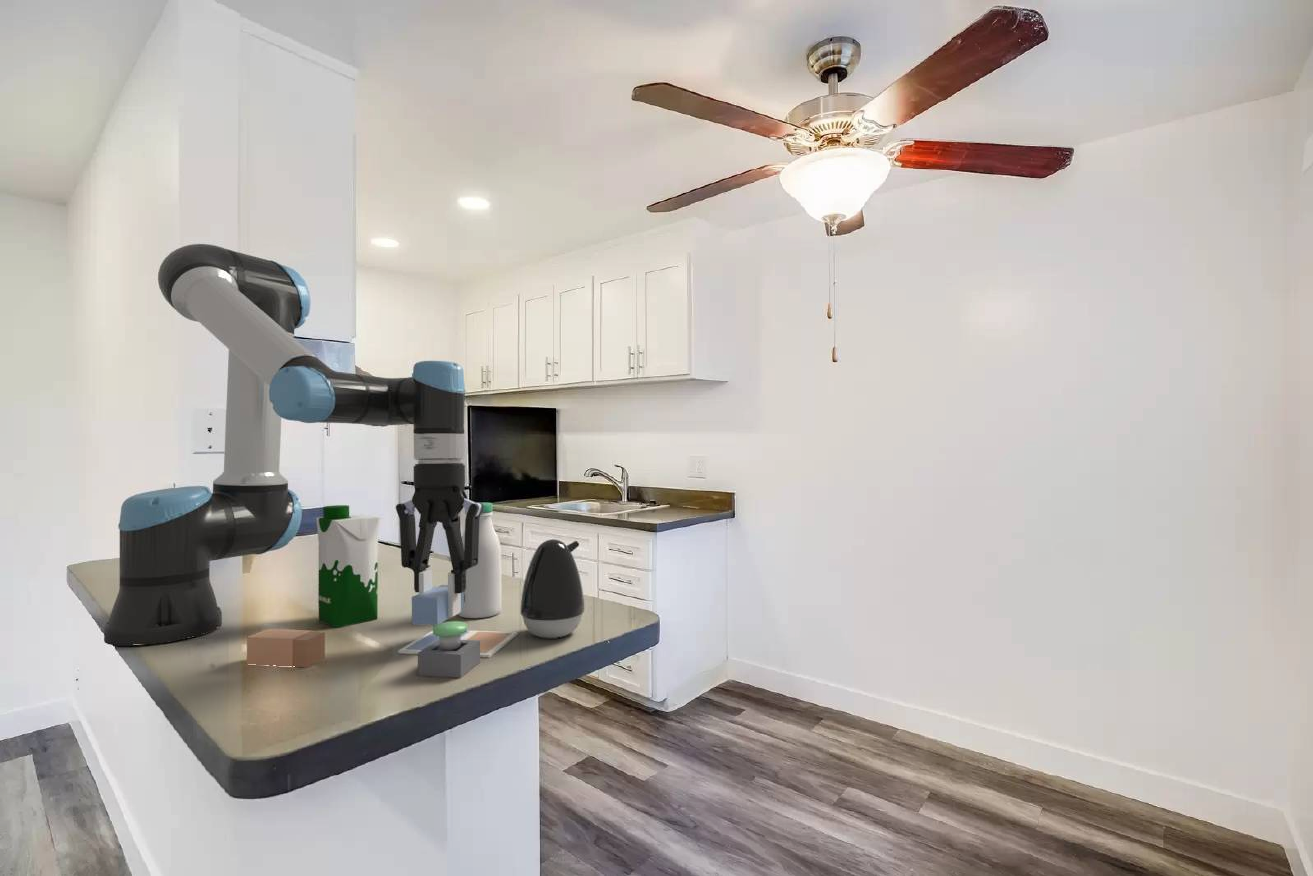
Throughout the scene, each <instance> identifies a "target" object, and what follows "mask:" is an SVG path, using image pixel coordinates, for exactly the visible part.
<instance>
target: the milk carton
mask: <svg viewBox="0 0 1313 876" xmlns="http://www.w3.org/2000/svg"><path fill="white" fill-rule="evenodd" d="M322 509H323V511H322V512H323V514H322V517H320V516H319V517H316V519H315V520H316V521H315V522H316V528H317V529H316V531H317V539H318V585H317V586H318V595H317V596H318V597H317V599H318V600H317V601H318V622H321V623H324V624H327V625H328V626H331V627H333V628H341V627H346V626H351V625H357V624H361V623H366V622H371V621H373V620H378V603H379V602H378V593H379V592H378V591H379V590H378V588H379V587H378V586H379V585H378V578H379V577H378V576H379V574H378V572H379V571H378V570H379V569H378V568H379V567H378V566H379V565H378V564H379V562H378V561H379V559H378V557H379V531H380V524H381V523H380V522H381V516H374V515H369V514H368V515H365V514H354V515H353V514H352V515H351V514H350V505H345V504H344V505H343V504H341V505H325V506H323V507H322Z"/></svg>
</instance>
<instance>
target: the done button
mask: <svg viewBox="0 0 1313 876" xmlns="http://www.w3.org/2000/svg"><path fill="white" fill-rule="evenodd" d="M467 630H468V624H467V623H466V622H464V621H458V620H457V621H454V620H453V621H444V622H442V623H439V624H436V625H432V631H433V635H435V636H439V648H440V649H443V650H451V649H456V648H459V647H460V646H461V634H463V633H465V632H466V631H467Z"/></svg>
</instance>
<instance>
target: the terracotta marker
mask: <svg viewBox="0 0 1313 876" xmlns="http://www.w3.org/2000/svg"><path fill="white" fill-rule="evenodd" d="M325 659H326V632H325V631H313V630H309V629H307V630H306V629H305V630H304V629H303V630H301V629H285V628H284V629H282V628H281V629H280V628H267V629H265V630H261V631H259V632H257V633H254V634H251V635H248V636H247V637H246V665H247V664H256V665H269V666H273V665H276V666H292V667H293V666H295V667H303V668H302V669H308V668H310V667H311V666H314V665H315V664H317V663H319V662H322V661H324V660H325ZM309 666H310V667H309ZM295 667H293V668H295ZM307 667H308V668H307Z"/></svg>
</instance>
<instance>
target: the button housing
mask: <svg viewBox="0 0 1313 876" xmlns="http://www.w3.org/2000/svg"><path fill="white" fill-rule="evenodd" d="M480 663H481V657H480V641H476V640H461V646H460V647H459V648H456V649H451V650H443V649H440V648H439V640H437V641H436V642H434V643H433V644H431V645H429V646H428V647H426V648H425V649H423V650H421V651H420V652H418V654H417V676H419V677H420V676H422V677H437V678H438V677H439V678H441V677H442V678H456V679H457V678H459V679H461V678H463V677H465V675H466V674H467V673H470V671H471V670H473V669H474V668H475V667H476V666H477V665H479V664H480Z"/></svg>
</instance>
